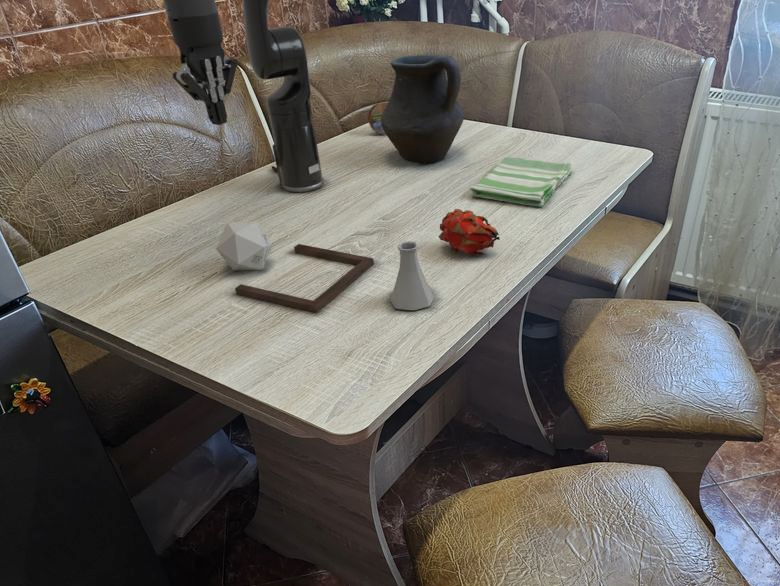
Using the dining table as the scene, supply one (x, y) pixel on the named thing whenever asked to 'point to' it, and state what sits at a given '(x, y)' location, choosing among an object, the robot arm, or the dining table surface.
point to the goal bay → (324, 298)
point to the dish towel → (522, 181)
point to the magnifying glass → (377, 117)
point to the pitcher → (423, 107)
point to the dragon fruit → (467, 232)
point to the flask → (410, 281)
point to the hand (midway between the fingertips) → (219, 123)
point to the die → (244, 246)
